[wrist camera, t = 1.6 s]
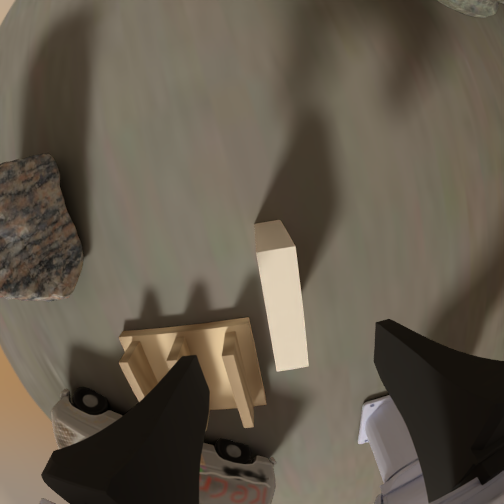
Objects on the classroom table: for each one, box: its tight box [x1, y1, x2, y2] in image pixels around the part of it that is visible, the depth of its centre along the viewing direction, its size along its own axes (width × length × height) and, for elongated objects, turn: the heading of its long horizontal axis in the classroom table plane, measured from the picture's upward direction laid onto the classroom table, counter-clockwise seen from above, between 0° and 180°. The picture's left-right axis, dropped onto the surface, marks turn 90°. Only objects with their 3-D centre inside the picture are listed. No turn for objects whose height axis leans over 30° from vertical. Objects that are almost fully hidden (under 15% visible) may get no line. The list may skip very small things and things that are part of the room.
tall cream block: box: [254, 220, 309, 372], centre depth 17 cm, size 2×7×7 cm, turn 9°
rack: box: [119, 317, 266, 430], centre depth 21 cm, size 11×9×4 cm
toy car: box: [51, 387, 277, 504], centre depth 22 cm, size 11×25×10 cm, turn 69°
